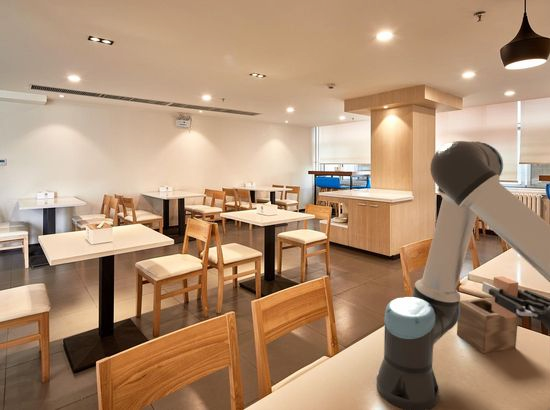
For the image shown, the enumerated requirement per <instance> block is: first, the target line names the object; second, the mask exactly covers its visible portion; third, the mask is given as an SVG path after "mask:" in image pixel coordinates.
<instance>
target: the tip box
mask: <svg viewBox="0 0 550 410" xmlns="http://www.w3.org/2000/svg"><path fill="white" fill-rule="evenodd" d="M459 306H460V316H459V318H458V321H457V323H456V324H457V326H456V335H457V336H458V337H459V338H461V339H462V340H463V341H465V342H466V343H468V344H469V345H471V346H472V347H474V348H475V349H476V350H478V351H479V352H481V353H491V352H497V351H499V352H500V351H504V350H510V349H512V350H513V349H517V347H516V346H517V335H518V334H517V333H518V322H519V317H518V316H517V315H516V317H514V318H505V317H503V316H501V315H499V314H497V313H496V312H494V311H492V297H491V298H490V297H486V298H485V297H484V298H476V299H474V298H473V299H468V300H467V299H465V300H460V301H459Z"/></svg>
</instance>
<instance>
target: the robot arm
mask: <svg viewBox="0 0 550 410" xmlns="http://www.w3.org/2000/svg"><path fill="white" fill-rule="evenodd" d="M503 169H504V161H503V157H502V155H501V154H500V152H499V151H498V150H497V149H496V148H495V147H493V146H492V145H490V144H488V143H484V142H480V141H466V140H457V141H456V140H455V141H451V142H449V143H446V144H445V145H443V146H442V147H440V148H438V150H437V151H435V153H434V155H433V157H432V158H431V162H430V174H431V178H432V179H433V182H434V183H435V185H436V186H437V187H438V189H437V192H438V194H439V195H440V196H441V198H442V200H441V204H440V208H439V212H438V215H437V219H436V223H435V227H434V231H433V235H432V239H431V243H430V248H429V251H428V256H427V260H426V262H425V263H426V264H425V267H424V271H423V276H422V278H420V279H417V281H415V283H414V287H413V289H412V294H411V296H403V297H397V298H394V299H392V300H391V301H390V302H389V303H388V304H387V305H386V307H385V313H384V317H383V323H384V334H383V335H384V340H383V343H384V344H383V346H384V347H383V360H382V361H381V364H380V367H379V369H378V371H377V373H376V374H377V375H376V383H375V384H376V389H377V391H378V394H380V396H381V397H382V398H383V399H384V400H386V401H387V402H388V403H390V404H392V405H393V406H396V407H398V408H400V409H404V410H431V409H432V408H434V407H435V406H436V405H438V403H439V396H440V387H439V385H438V381H437V377H436V375H435V371H434V369H433V361H434V346H435V344H436V343H437V342H438V341H439V340H440V339H441V338H443V336H445V335H446V333H448V332H449V331H450V330H452V329H453V328H454V326H455V325H456V324H457V322H458V318H459V316H460V306H459V301H461V294H460V292H459V291H458V290H457V287H458V283H459V281H460V277H461V273H462V271H463V270H462V269H463V267H464V262H465V259H466V255H467V253H468V252H467V251H468V248H469V246H470V241H471V238H472V234H473V231H474V229H475V228H474V227H475V224H476V221H477V220H476V219H477V218H479V219H480V220H481V221H482V222H483V223H484V224H485V225H486V226H488V227H489V228H490V229H491V230H492V231H493V232H494V233H495V234H496V235H498V237H499V238H501V240H503V241H504V242H505V243H506V244H507V245H508V246H509V247H511V248H512V250H514V251H515V252H516V253H517V254H518V255H519V256H521V258H523V260H524V261H526V262H527V263H528V264H529V265H530V266H531V267H532V268H533V269H535V271H537V272H538V273H539V274H540V275H541V276H543V278H544V279H545V280H546V281H547V282H549V283H550V224H549V223H548V222H547V221H546V220H544V219H543V218H542V217H541V216H540V215H539V214H538V213H536V212H535V211H534V210H532V209H531V207H529V206H528V205H526V204H525V203H524V202H523V201H522V200H520V199H519V197H517V196H515V195H514V194H513V193H512V192H511V191H510V190H509V189H507V188H506V187H505V186H504V185H503V184H501V182H500V177H501V175H502V173H503V171H504V170H503ZM481 289H482V290H481V291H482V292H484V293H485V294H487V295H489V296H491V297H492V296H493V297H495V301H494V302H495V303H497V304H498V305H500V306H502V307H504V308H505V309H507V310H509V311H511V312H512V313H514V314H516V315H517V316H518V319H524V318H525V317H531V318H532V319H534V320H537V321H539V322H541V323H542V324H543V326H544V328H545V329H546V331H548V332H550V298H549V297H547V296H544V295H541V294H539V293H536V292H533V291H531V290H528V289H524V290H521V289H518V295H517V297H515V296H512V295H509V294H507V293H504V292H503V289H499V288H497V287H495V286H493V285H492V284H490V283H487V282H486V281H483V282H482V286H481Z"/></svg>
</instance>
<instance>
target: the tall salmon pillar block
mask: <svg viewBox="0 0 550 410" xmlns="http://www.w3.org/2000/svg"><path fill="white" fill-rule="evenodd" d="M492 286H495V287H497V288H499V289H503V292H504V293H507V294H509V295H512V296H515V297H517V295H518V290H519V282H518V281H516V280H513V279H511V278H509V277H506V276H503V275H502V276H494V277H493V285H492ZM491 299H492V311H494V312H496V313H497V314H499V315H501V316H503V317H505V318H514V317H516V314H514V313H512V312H511V311H509V310H507V309H505V308H504V307H502V306H500V305H498V304H497V303H495V302H494V301H495V297H493V296H491Z"/></svg>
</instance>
